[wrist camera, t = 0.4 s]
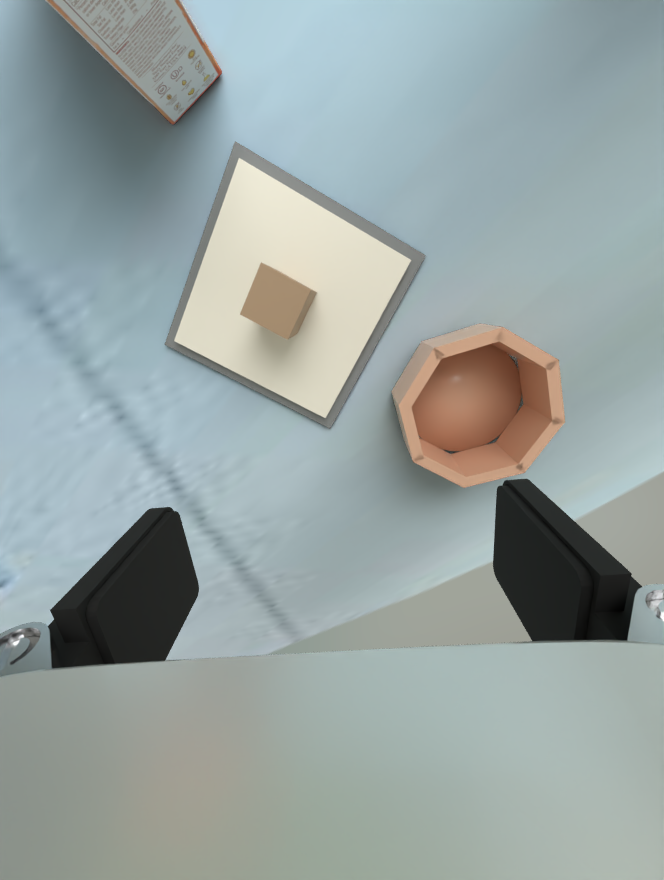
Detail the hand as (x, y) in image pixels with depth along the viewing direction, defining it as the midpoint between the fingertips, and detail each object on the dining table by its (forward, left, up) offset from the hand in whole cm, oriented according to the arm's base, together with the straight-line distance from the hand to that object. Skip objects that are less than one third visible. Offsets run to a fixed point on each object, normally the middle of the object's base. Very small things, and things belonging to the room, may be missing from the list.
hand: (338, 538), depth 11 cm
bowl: (-3, +11, -27) cm, 30 cm away
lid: (-3, -8, -27) cm, 28 cm away
